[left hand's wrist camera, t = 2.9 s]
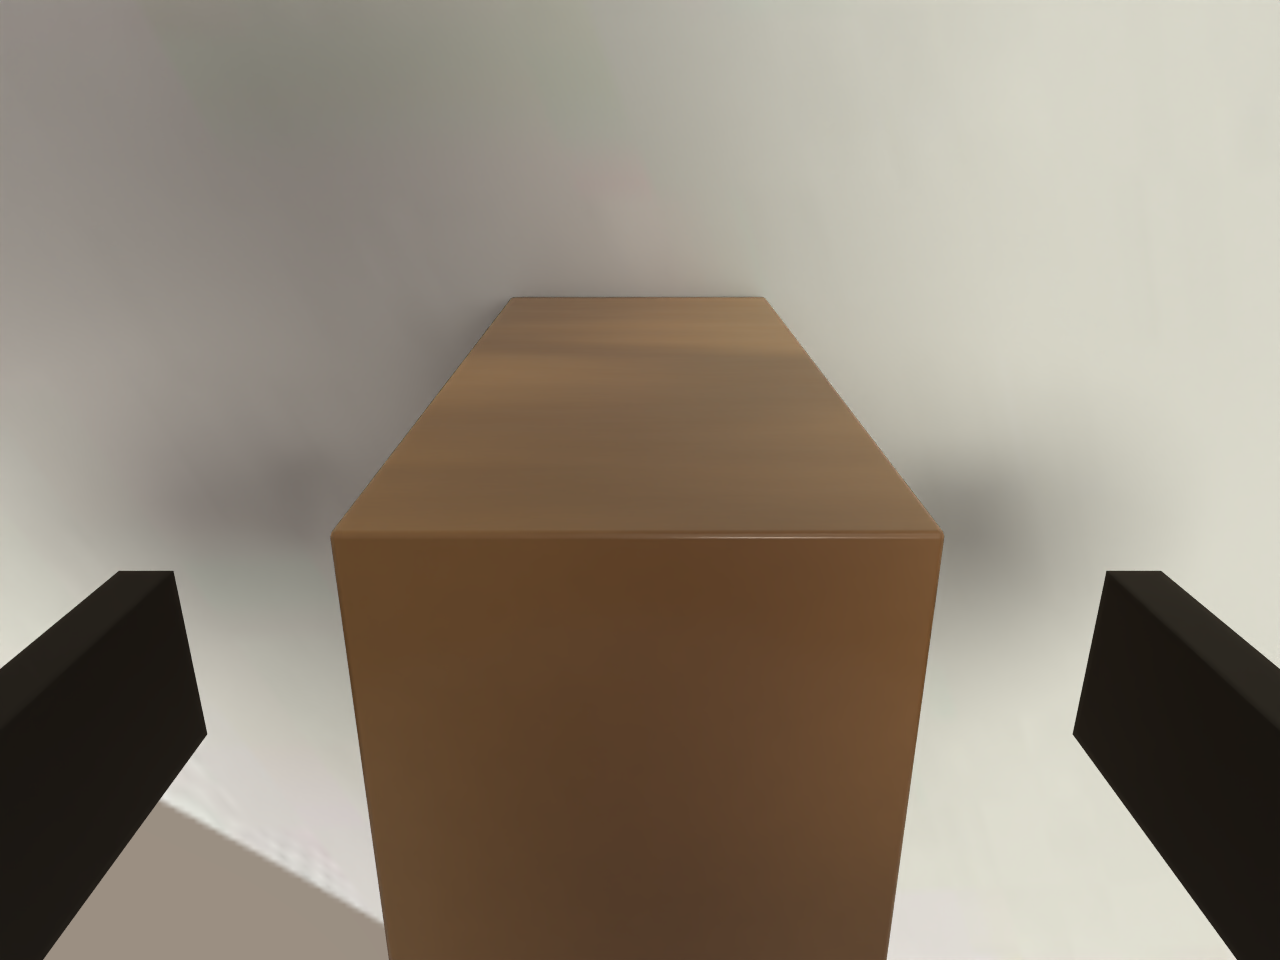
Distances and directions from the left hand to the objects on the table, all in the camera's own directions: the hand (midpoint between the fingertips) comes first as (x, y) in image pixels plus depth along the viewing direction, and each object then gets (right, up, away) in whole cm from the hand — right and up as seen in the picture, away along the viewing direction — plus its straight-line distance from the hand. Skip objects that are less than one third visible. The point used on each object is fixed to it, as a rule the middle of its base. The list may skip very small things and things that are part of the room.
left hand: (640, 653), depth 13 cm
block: (0, +2, +6) cm, 6 cm away
